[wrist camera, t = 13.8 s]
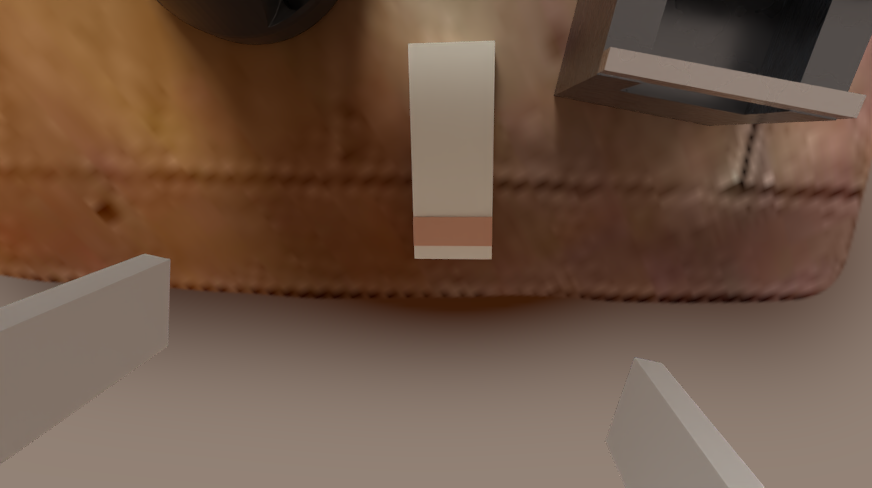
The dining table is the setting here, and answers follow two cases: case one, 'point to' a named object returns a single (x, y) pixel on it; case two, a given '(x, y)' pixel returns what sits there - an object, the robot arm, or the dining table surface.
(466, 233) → the ticket
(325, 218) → the dining table surface
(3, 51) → the dining table surface
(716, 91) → the dispenser
